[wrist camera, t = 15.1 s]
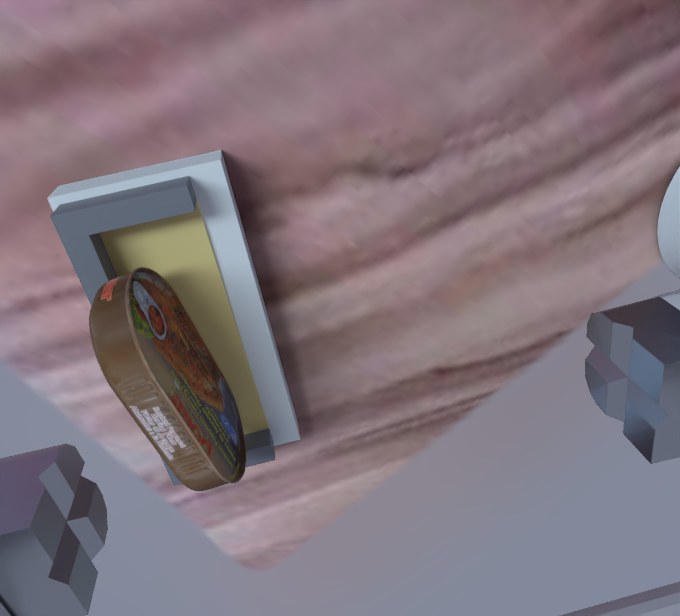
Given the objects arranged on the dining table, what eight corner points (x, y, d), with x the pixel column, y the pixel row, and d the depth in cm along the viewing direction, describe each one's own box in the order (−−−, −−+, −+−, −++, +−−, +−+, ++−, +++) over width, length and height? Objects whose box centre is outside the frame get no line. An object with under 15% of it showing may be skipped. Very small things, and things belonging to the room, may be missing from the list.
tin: (248, 419, 42) (252, 508, 34) (209, 434, 42) (204, 526, 34) (148, 242, 34) (125, 309, 27) (99, 262, 34) (64, 333, 27)
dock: (221, 149, 35) (219, 168, 31) (296, 418, 46) (303, 457, 42) (58, 185, 34) (36, 209, 30) (174, 449, 45) (169, 492, 41)
